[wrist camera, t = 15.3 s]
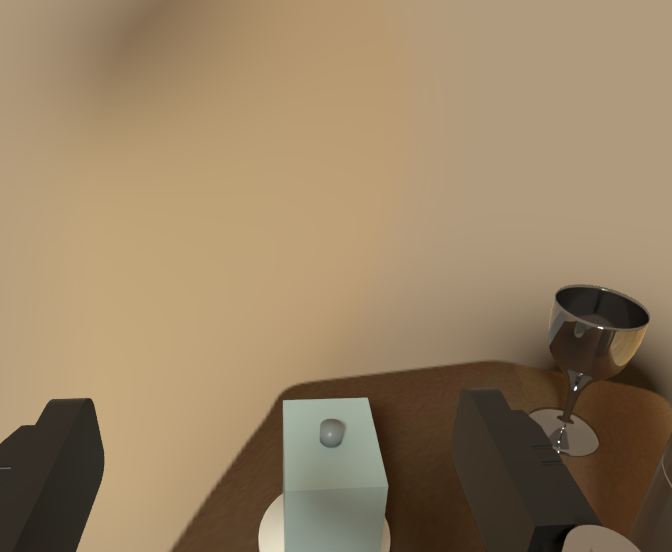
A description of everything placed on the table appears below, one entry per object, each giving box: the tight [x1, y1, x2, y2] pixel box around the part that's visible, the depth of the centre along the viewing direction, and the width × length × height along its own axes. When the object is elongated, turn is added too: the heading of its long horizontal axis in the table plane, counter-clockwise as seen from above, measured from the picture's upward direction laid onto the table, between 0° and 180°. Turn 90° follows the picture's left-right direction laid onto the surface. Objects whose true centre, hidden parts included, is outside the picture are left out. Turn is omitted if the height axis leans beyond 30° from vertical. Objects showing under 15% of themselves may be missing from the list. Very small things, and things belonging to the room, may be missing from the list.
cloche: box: [283, 398, 388, 552], centre depth 40 cm, size 7×9×11 cm
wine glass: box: [529, 285, 650, 457], centre depth 52 cm, size 8×8×15 cm
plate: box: [259, 494, 390, 552], centre depth 43 cm, size 10×10×1 cm
